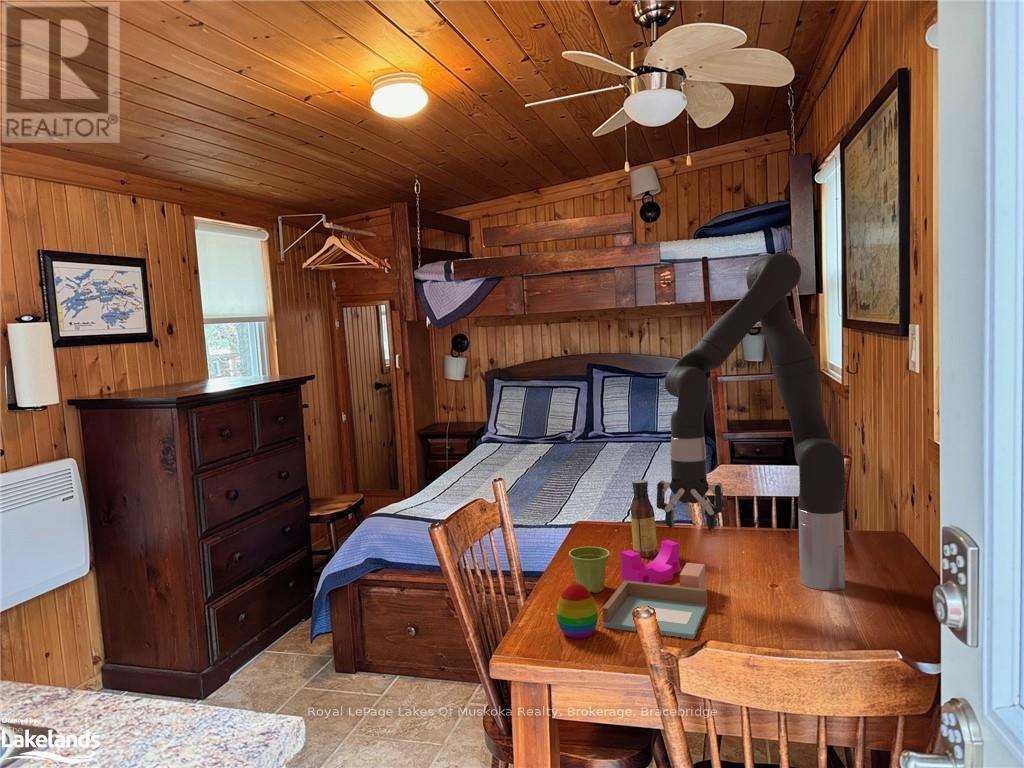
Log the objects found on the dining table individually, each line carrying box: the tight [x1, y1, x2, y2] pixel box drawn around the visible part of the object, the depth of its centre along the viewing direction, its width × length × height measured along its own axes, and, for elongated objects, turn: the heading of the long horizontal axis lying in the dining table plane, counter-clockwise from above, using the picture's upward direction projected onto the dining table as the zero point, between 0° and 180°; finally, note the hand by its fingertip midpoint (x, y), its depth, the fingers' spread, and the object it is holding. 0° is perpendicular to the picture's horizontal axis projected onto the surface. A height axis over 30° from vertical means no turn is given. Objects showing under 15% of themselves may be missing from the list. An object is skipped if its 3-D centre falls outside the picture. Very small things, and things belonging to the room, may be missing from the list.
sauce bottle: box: [630, 479, 658, 558], centre depth 180 cm, size 6×6×20 cm
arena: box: [601, 580, 708, 640], centre depth 141 cm, size 18×16×4 cm
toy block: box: [620, 539, 681, 584], centre depth 163 cm, size 15×6×8 cm, turn 120°
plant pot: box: [568, 546, 610, 594], centre depth 158 cm, size 9×9×9 cm
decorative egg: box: [556, 582, 599, 640], centre depth 135 cm, size 8×8×10 cm
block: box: [679, 562, 707, 589], centre depth 151 cm, size 4×8×6 cm, turn 155°
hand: (690, 529), depth 151 cm, fingers open, 8 cm apart
